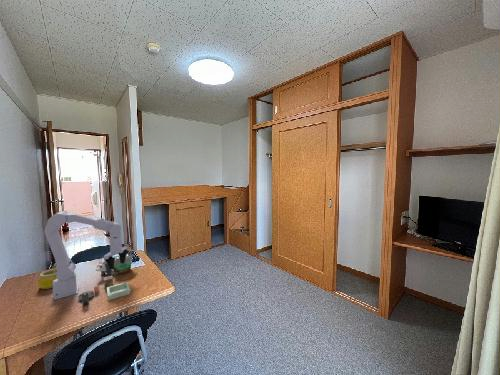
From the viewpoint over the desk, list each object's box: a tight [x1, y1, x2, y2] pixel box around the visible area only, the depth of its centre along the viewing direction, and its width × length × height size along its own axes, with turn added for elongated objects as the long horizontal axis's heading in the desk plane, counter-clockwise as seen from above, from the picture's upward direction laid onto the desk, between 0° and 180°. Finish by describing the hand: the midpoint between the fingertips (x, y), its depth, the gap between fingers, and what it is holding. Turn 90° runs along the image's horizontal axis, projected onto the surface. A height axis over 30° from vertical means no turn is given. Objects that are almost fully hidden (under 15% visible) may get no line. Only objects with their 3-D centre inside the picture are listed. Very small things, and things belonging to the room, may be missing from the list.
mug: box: [38, 266, 58, 290], centre depth 123 cm, size 13×11×12 cm
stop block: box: [103, 275, 114, 290], centre depth 122 cm, size 4×4×5 cm
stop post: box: [93, 284, 100, 295], centre depth 116 cm, size 2×2×4 cm
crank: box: [77, 290, 95, 306], centre depth 109 cm, size 12×6×5 cm, turn 36°
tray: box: [106, 281, 131, 301], centre depth 115 cm, size 10×10×2 cm
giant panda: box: [95, 258, 117, 277], centre depth 135 cm, size 15×6×10 cm, turn 174°
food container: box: [113, 253, 133, 276], centre depth 137 cm, size 12×6×10 cm, turn 143°
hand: (117, 266), depth 126 cm, fingers open, 7 cm apart
